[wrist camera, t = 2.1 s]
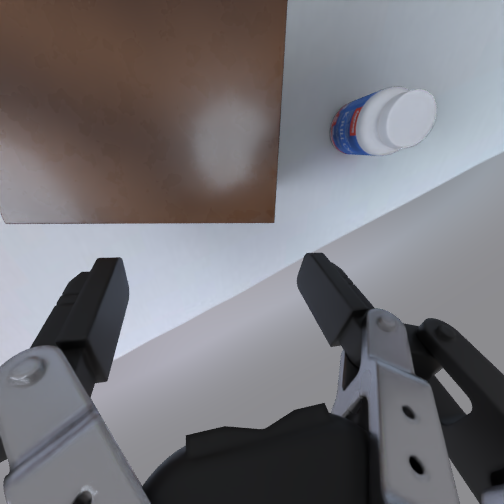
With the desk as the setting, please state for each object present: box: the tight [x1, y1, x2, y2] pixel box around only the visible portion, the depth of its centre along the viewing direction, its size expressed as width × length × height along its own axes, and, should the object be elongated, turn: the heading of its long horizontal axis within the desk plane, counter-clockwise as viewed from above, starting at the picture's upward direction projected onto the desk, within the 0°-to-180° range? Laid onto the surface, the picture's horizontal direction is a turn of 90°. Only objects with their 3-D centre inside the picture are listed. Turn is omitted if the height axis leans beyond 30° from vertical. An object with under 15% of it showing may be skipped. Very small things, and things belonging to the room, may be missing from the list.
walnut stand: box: [0, 0, 288, 224], centre depth 19 cm, size 13×18×13 cm
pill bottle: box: [330, 87, 437, 156], centre depth 22 cm, size 6×5×10 cm
